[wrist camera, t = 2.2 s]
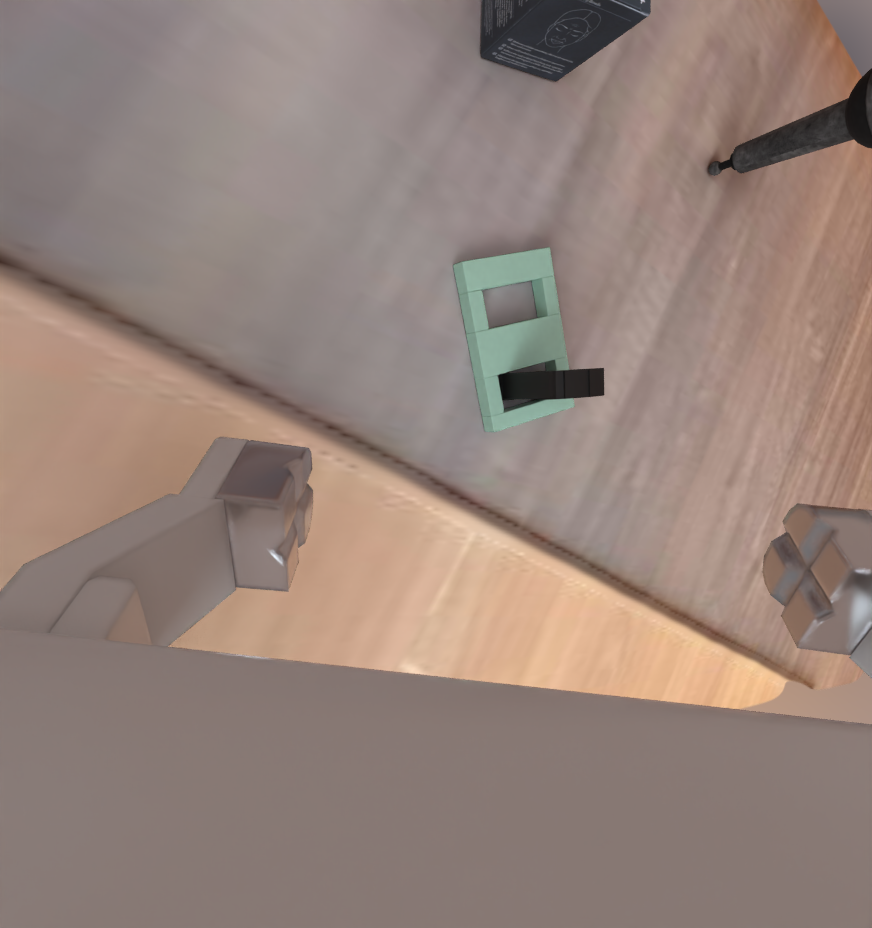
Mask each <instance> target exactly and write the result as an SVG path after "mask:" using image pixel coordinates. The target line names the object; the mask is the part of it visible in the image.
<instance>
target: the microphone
mask: <svg viewBox="0 0 872 928" xmlns="http://www.w3.org/2000/svg"><path fill="white" fill-rule="evenodd" d="M853 139H854V140H855V141H856V142H857V143H859V144H861V145H863V146H865V147H867V148H872V69H870V70H869V71H868V72H867V73H866V74H865V75H864V76H863V77H862V78H861V79H860V80H859V81H858V83H857V84H856V86H855V87H854V89H853V90H852V92H851V94H850V96H849V98H848V99H845V100H843V101H841V102H838V103H836V104H834V105H831V106H829V107H827V108H824V109H822V110H820V111H817V112H815V113H813V114H810V115H808V116H806V117H803V118H801V119H799V120H796V121H794V122H792V123H789V124H787V125H785V126H782V127H780V128H778V129H775V130H773V131H771V132H768V133H766V134H764V135H761V136H759V137H757V138H754V139H752V140H750V141H747V142H745V143H743V144H740V145H738V146H737V147H736V148H735V149H734V151H733V153H732V154H731V157H730V159H729V160H727V161H724V162H719V161H715V162H713V163H712V164H711V165H710V166H709V173H710V174H711V175H714V176H715V175H718V174H720V173H721V171H722V170H723V169H726V168H729V167H732V168H733V169H734V170H737V171H738V172H739V173H745V172H748V171H751V170H755V169H758V168H761V167H765V166H768V165H771V164H774V163H778V162H781V161H784V160H788V159H791V158H794V157H797V156H801V155H804V154H807V153H810V152H814V151H817V150H820V149H824V148H827V147H830V146H833V145H837V144H840V143H843V142H847V141H850V140H853Z"/></svg>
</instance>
